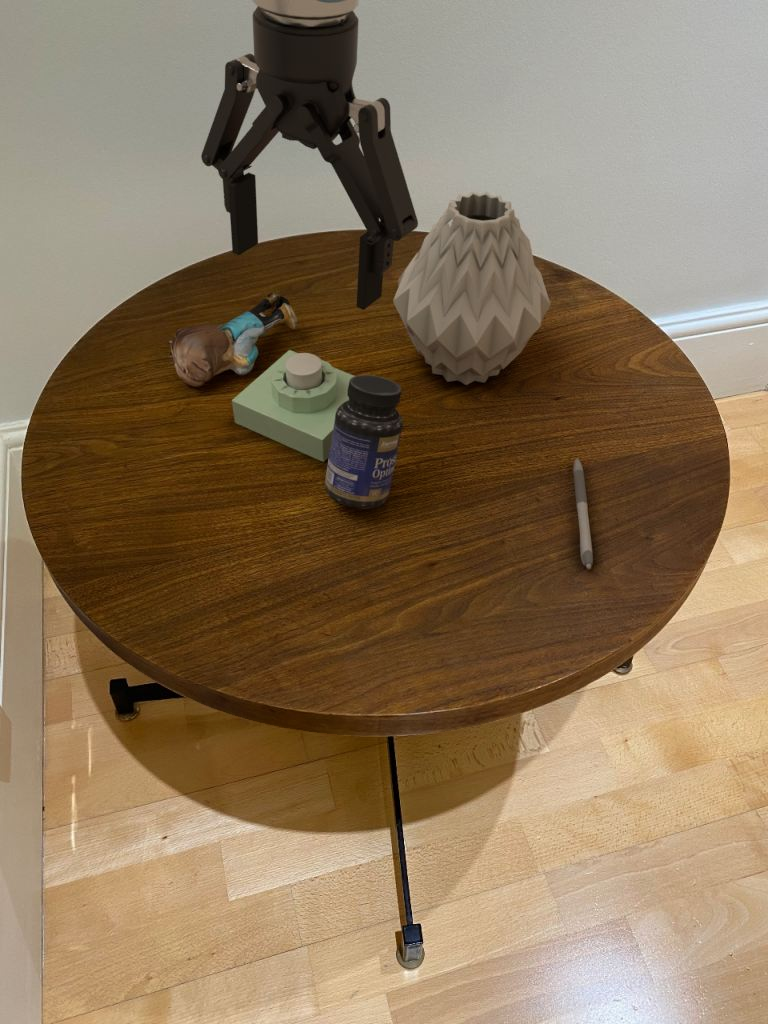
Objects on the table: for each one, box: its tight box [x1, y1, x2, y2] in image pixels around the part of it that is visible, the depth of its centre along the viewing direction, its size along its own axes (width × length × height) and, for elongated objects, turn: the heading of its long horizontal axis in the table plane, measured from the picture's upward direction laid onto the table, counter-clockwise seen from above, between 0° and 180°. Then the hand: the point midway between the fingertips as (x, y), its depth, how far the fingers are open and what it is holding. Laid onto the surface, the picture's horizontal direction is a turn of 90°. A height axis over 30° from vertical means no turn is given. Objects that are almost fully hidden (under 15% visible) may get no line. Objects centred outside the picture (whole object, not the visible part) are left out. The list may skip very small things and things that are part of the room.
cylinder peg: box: [285, 352, 322, 390], centre depth 87 cm, size 4×4×2 cm
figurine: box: [167, 292, 298, 387], centre depth 95 cm, size 8×16×6 cm, turn 134°
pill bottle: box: [324, 374, 404, 510], centre depth 79 cm, size 6×6×11 cm
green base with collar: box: [231, 349, 356, 463], centre depth 89 cm, size 11×10×5 cm
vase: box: [393, 191, 551, 386], centre depth 91 cm, size 16×16×18 cm
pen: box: [572, 458, 594, 570], centre depth 81 cm, size 1×14×1 cm, turn 176°
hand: (305, 274), depth 77 cm, fingers open, 13 cm apart
